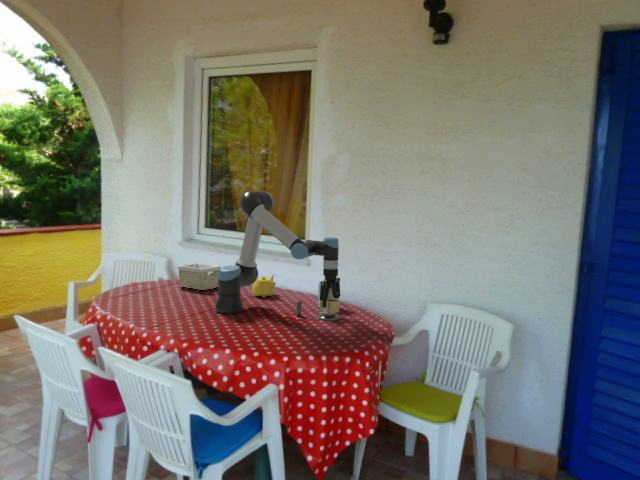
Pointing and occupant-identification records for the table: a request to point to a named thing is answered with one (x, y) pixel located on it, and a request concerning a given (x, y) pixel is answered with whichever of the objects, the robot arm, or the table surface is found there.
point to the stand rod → (298, 308)
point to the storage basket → (199, 275)
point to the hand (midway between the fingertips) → (329, 311)
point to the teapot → (264, 286)
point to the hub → (329, 317)
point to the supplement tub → (319, 293)
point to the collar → (331, 306)
